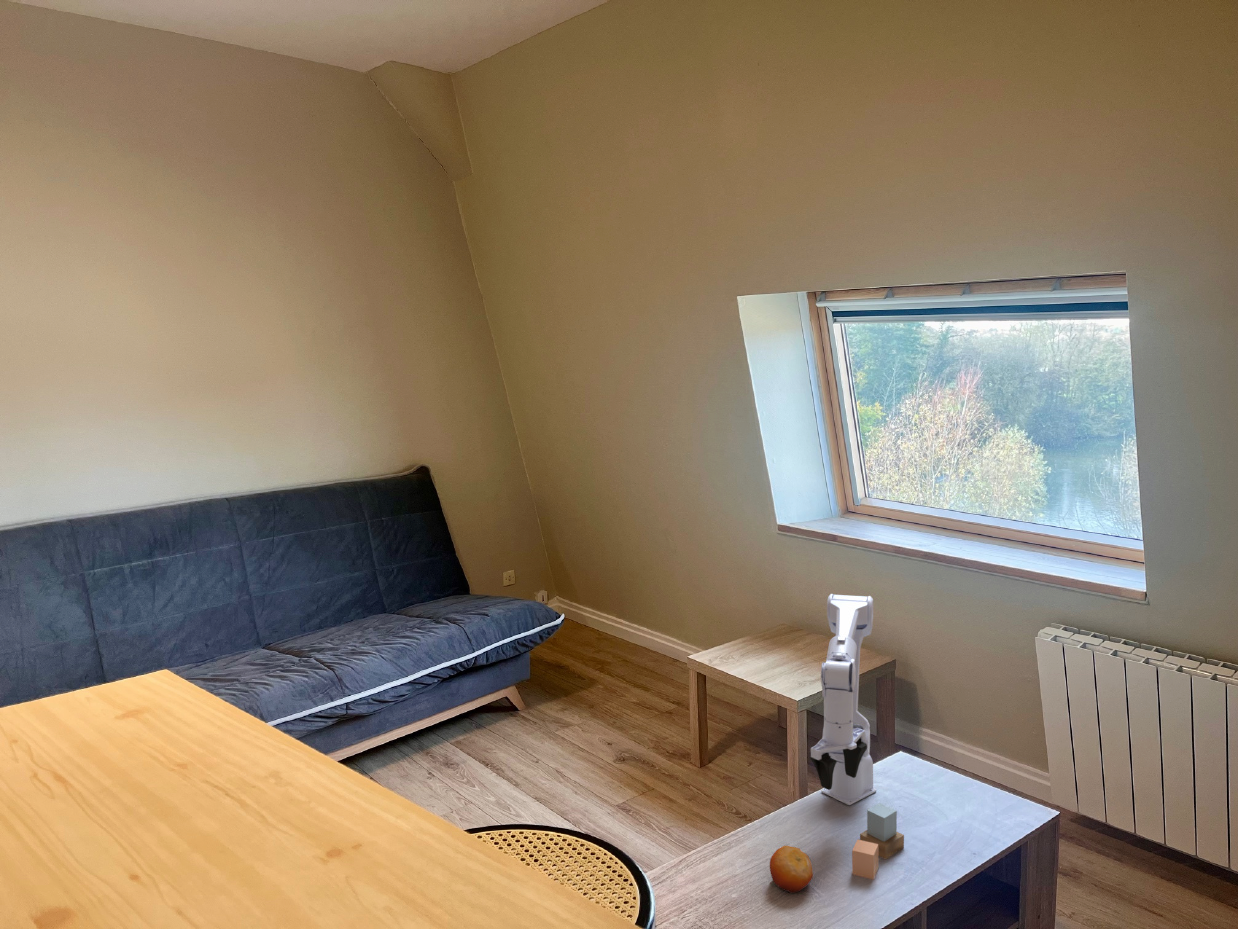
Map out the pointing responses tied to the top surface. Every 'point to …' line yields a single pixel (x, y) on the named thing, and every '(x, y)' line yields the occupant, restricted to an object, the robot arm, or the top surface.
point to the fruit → (790, 869)
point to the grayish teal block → (881, 822)
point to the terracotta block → (865, 859)
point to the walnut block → (885, 843)
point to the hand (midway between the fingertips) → (838, 781)
